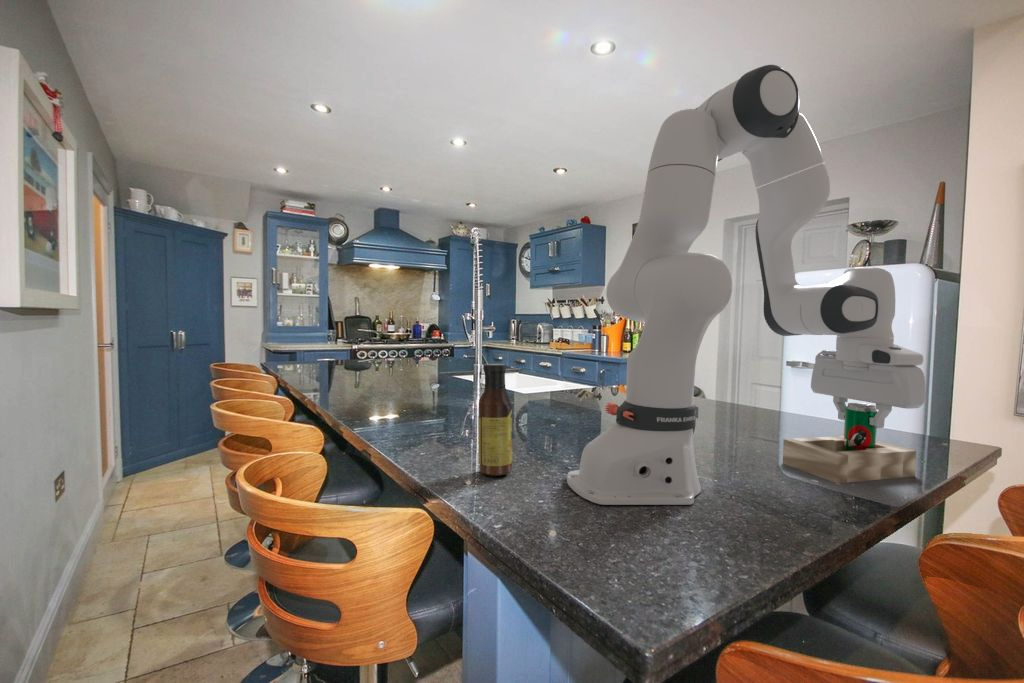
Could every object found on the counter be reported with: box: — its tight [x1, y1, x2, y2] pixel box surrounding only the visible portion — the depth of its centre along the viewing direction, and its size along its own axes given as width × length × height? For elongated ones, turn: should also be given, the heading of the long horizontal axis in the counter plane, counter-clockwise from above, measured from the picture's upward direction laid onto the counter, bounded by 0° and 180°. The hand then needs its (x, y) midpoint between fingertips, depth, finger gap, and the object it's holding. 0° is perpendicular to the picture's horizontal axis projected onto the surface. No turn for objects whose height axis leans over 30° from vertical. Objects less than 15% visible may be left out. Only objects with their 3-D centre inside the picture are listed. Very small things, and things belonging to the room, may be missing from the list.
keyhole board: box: [782, 435, 917, 484], centre depth 90 cm, size 18×12×5 cm, turn 104°
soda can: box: [843, 402, 878, 451], centre depth 91 cm, size 5×5×12 cm
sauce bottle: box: [477, 363, 514, 477], centre depth 86 cm, size 6×6×20 cm
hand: (860, 423), depth 91 cm, fingers closed on soda can, 5 cm apart
